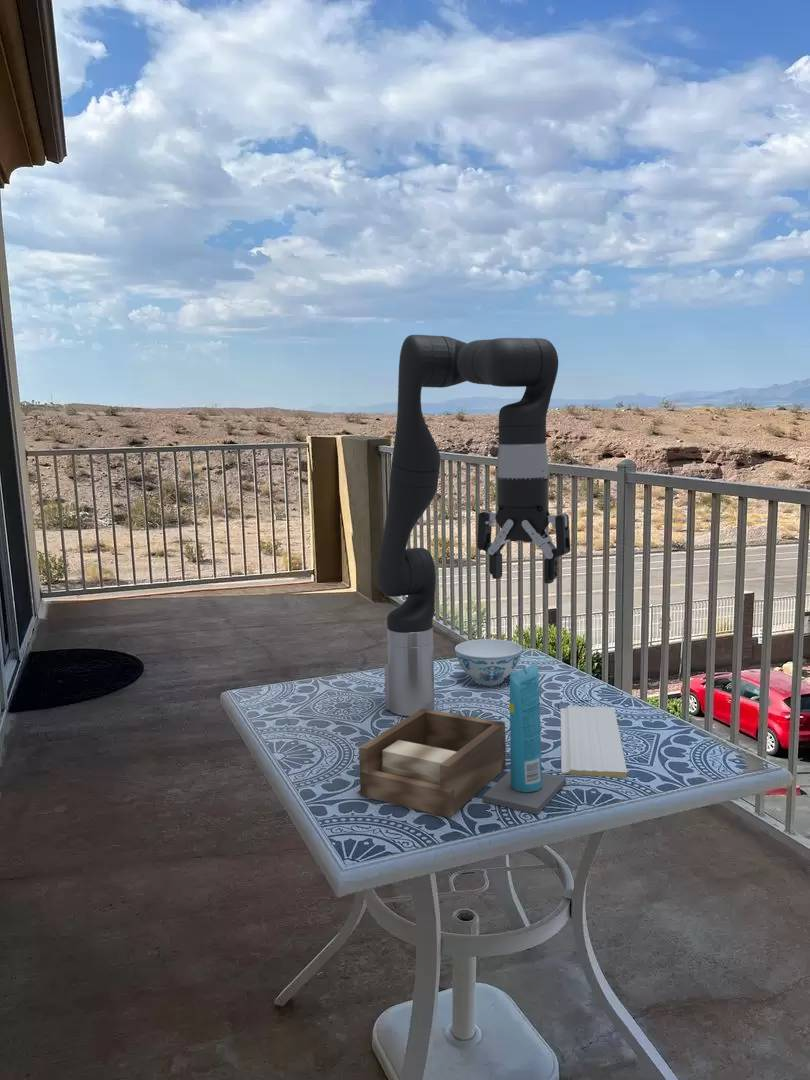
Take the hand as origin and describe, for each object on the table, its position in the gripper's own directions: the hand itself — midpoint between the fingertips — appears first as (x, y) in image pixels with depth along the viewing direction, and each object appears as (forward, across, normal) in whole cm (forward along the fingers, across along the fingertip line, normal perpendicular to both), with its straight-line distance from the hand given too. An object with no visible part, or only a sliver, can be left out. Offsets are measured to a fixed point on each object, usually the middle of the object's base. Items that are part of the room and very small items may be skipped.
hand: (522, 580), depth 126 cm
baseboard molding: (+35, +2, +24) cm, 43 cm away
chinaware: (+34, -29, +48) cm, 66 cm away
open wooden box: (+34, -14, -4) cm, 37 cm away
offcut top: (+30, -14, -9) cm, 34 cm away
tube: (+33, +1, -1) cm, 33 cm away
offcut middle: (+32, -14, -9) cm, 36 cm away
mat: (+34, +1, -1) cm, 34 cm away
